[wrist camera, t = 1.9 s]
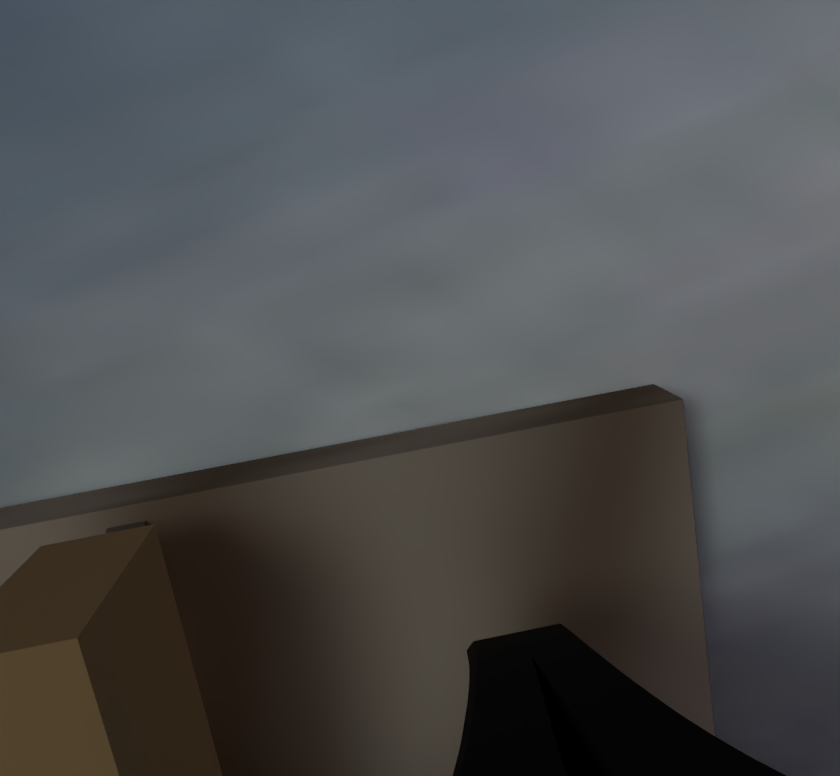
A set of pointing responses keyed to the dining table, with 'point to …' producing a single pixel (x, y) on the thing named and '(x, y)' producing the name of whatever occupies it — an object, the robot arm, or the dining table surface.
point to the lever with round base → (98, 665)
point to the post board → (414, 574)
